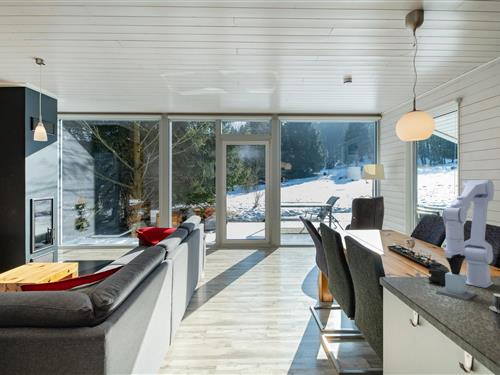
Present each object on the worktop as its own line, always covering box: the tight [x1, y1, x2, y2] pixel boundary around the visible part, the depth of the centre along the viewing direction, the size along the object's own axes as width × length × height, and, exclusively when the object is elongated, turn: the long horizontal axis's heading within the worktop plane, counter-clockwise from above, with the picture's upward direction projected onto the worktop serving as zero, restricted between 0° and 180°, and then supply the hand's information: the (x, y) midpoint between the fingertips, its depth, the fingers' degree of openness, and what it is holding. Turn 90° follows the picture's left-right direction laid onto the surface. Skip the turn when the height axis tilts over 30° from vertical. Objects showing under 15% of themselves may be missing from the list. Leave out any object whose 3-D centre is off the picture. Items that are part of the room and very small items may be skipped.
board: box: [435, 286, 477, 301], centre depth 117 cm, size 10×10×1 cm
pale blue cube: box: [444, 270, 467, 294], centre depth 117 cm, size 5×5×7 cm
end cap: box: [428, 264, 451, 286], centre depth 131 cm, size 10×7×7 cm
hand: (455, 274), depth 117 cm, fingers closed, pressing on pale blue cube
